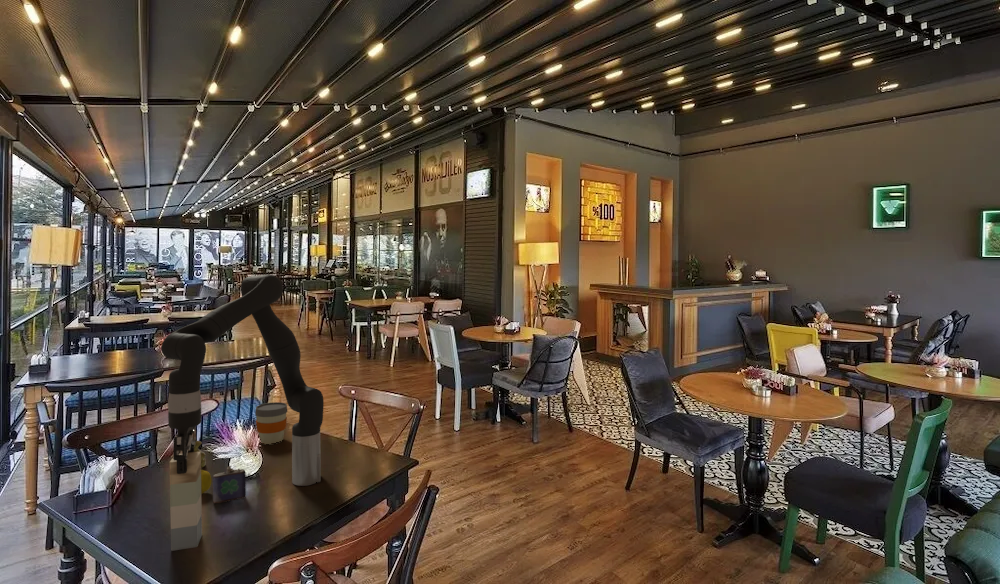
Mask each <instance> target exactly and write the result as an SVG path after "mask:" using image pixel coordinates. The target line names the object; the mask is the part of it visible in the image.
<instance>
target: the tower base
mask: <svg viewBox="0 0 1000 584" xmlns="http://www.w3.org/2000/svg"><path fill="white" fill-rule="evenodd" d="M202 516H203V514H202V515H201V517H200V519H199V522H198V524H197V525H195V526H188V527H182V528H175V529H171V528H170V549H171V552H173V551H178V550H179V551H180V550H185V549H192V548H193V549H194V548H198V547H199V543H200V541H201V538H202V536H203V522H202V521H203V520H202Z"/></svg>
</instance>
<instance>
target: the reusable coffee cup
mask: <svg viewBox="0 0 1000 584" xmlns="http://www.w3.org/2000/svg"><path fill="white" fill-rule="evenodd" d="M287 404H288V403H285V402H277V401H274V402H266V403H261V404H259V405H257V406H256V407H255V413H254V414H255V417H256V420H255V424H256V431H257V432H258V437H259V436H260V438H259V440H260V439H261V442H262V443H265V444H264V445H266V444H269V445H272V444H271V443H276V442H279V441H281V442H282V440H284V436H285V435H284V434H285V430H286V427H287V420H288V417H287V413H288V405H287ZM279 443H280V442H279ZM276 444H277V443H276Z"/></svg>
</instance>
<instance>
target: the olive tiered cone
mask: <svg viewBox="0 0 1000 584" xmlns="http://www.w3.org/2000/svg"><path fill="white" fill-rule="evenodd" d="M201 445H202V441H200V440H197V441H196V442H195V447H194V452H201V469H203V468H204V467H205V466H206V463H207V462H206V457H207V454H206V453H205V452H204V451H202V450H201V449H199V447H200V446H201Z"/></svg>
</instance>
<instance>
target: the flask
mask: <svg viewBox="0 0 1000 584" xmlns="http://www.w3.org/2000/svg"><path fill="white" fill-rule="evenodd" d="M246 477H247V476H246V471H245V469H242V468H241V469H240V468H237V469H234V468H232V465H229V466H227V467H226V471H223V472H218V473H216V474H213V476H212V502H213V504H222V503H226V502H227V501H228V502H230V500H231V501H235V500H241V499H244V497H245V498H246V493H247V492H246Z"/></svg>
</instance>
